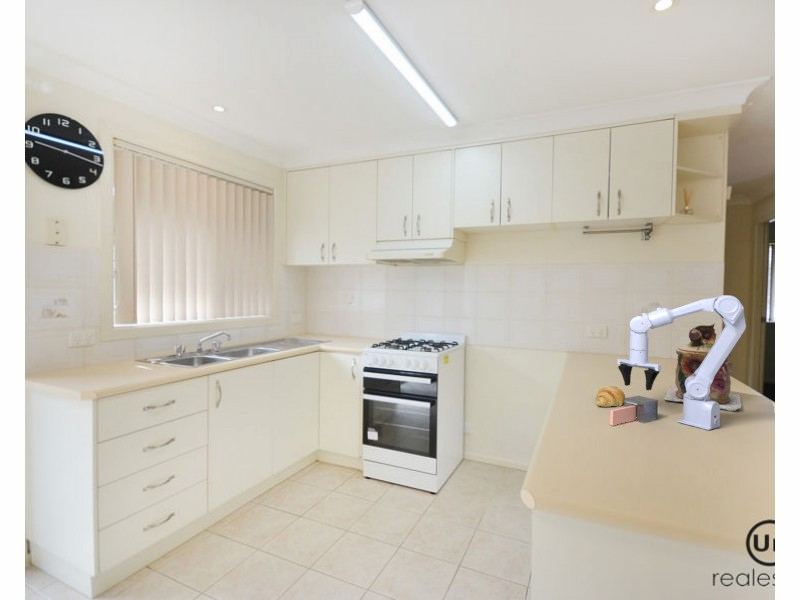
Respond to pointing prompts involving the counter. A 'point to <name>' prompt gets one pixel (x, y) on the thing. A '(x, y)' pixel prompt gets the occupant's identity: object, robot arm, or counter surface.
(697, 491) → the counter surface
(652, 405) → the grey cube
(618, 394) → the croissant
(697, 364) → the cookie jar
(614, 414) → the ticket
